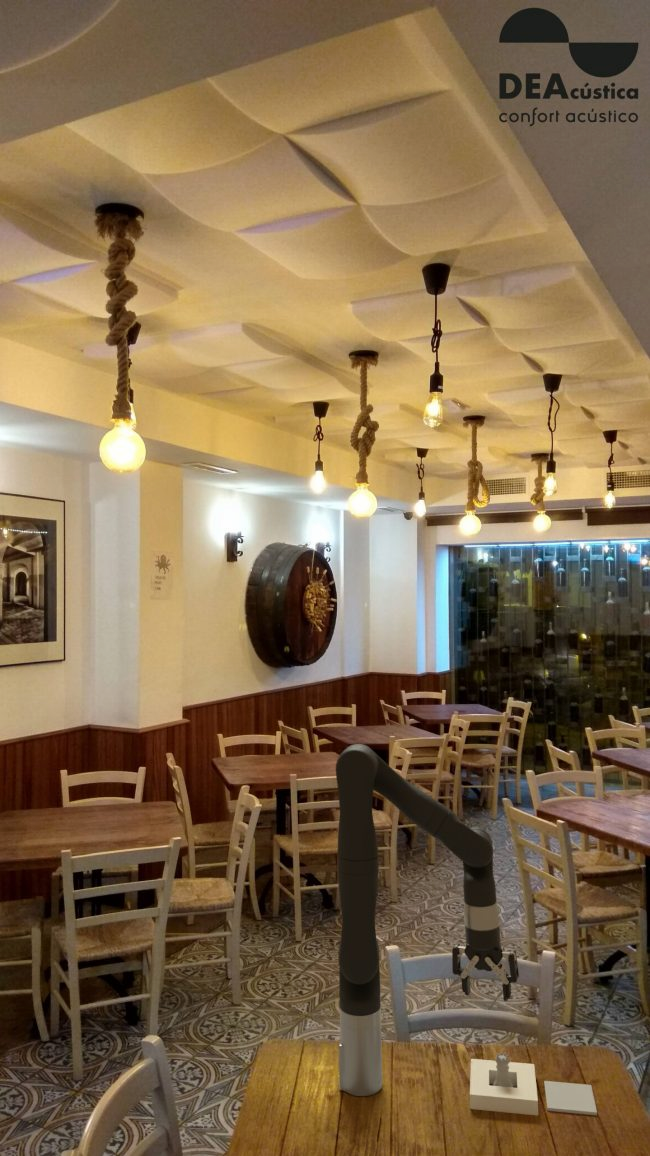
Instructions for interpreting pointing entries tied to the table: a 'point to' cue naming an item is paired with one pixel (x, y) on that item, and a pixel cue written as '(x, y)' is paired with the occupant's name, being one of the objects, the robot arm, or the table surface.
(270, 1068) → the table surface
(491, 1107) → the pocket holder
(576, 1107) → the grey mat
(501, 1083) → the rook chess piece
